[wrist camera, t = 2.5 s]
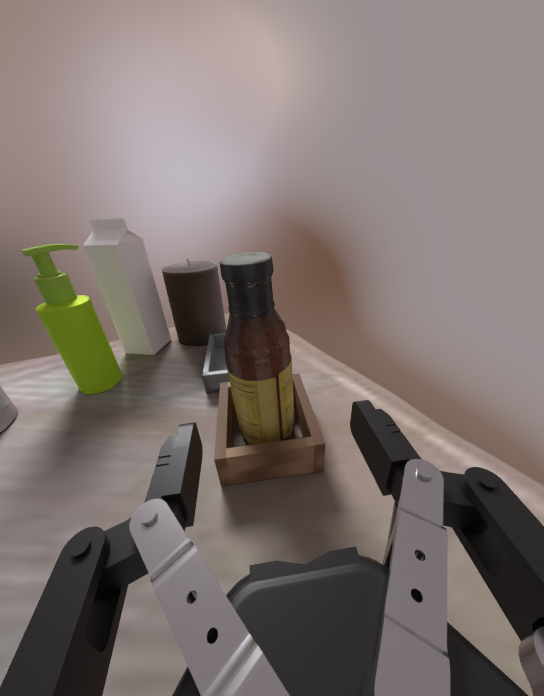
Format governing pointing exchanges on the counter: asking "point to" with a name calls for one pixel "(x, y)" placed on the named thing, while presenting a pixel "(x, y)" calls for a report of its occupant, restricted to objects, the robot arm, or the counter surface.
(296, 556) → the counter surface
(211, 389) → the tray
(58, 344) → the soap dispenser
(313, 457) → the collar
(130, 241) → the milk
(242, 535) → the counter surface
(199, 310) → the pillar candle
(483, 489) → the robot arm
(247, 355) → the sauce bottle
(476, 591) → the counter surface
